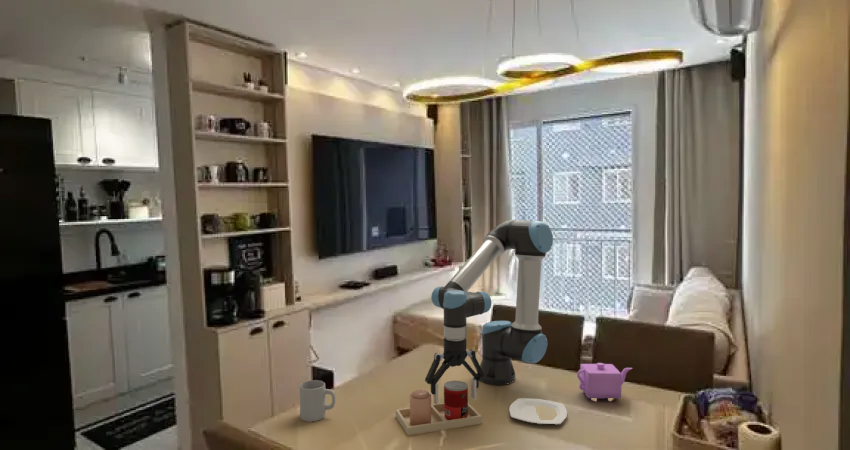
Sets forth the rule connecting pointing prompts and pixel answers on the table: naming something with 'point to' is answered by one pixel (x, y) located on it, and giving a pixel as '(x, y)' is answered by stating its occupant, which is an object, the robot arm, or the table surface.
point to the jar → (420, 407)
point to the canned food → (455, 400)
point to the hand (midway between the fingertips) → (454, 400)
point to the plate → (527, 411)
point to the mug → (314, 400)
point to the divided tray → (437, 420)
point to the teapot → (601, 380)
